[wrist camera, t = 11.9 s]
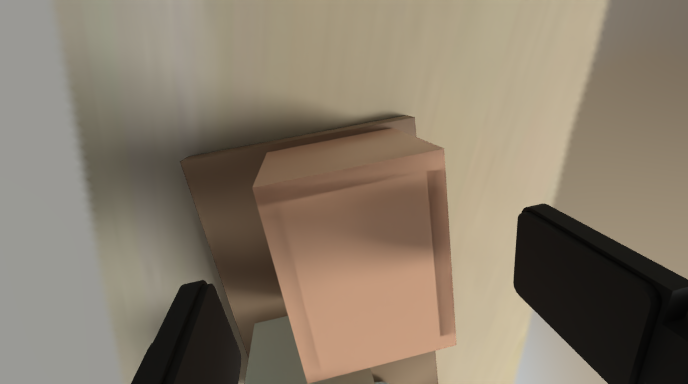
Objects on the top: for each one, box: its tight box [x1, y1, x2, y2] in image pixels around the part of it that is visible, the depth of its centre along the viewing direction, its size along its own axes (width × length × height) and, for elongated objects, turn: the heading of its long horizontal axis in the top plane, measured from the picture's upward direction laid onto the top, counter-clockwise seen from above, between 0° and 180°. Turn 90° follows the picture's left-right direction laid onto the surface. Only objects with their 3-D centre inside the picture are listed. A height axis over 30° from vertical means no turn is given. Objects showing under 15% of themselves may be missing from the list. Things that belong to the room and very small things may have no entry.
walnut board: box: [180, 116, 438, 384], centre depth 21 cm, size 26×12×1 cm, turn 10°
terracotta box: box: [252, 128, 456, 384], centre depth 15 cm, size 9×7×6 cm
